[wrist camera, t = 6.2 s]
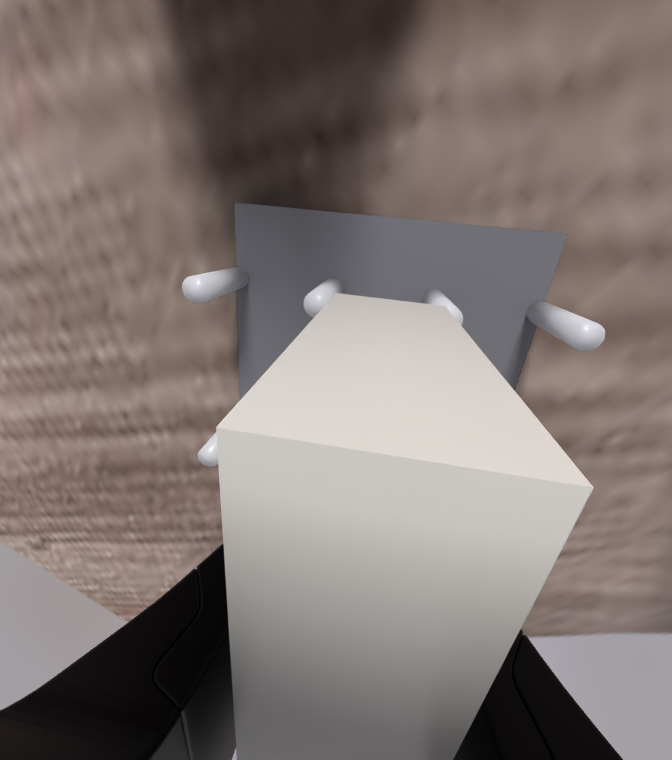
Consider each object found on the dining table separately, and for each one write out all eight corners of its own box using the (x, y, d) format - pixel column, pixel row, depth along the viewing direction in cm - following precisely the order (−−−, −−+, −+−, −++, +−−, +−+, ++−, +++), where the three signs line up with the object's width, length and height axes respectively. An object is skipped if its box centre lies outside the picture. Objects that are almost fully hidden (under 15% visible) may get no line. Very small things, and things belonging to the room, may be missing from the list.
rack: (565, 235, 14) (649, 234, 10) (479, 489, 20) (507, 563, 16) (234, 203, 16) (173, 190, 11) (241, 450, 21) (202, 508, 17)
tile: (444, 306, 8) (594, 487, 2) (380, 594, 12) (374, 910, 6) (335, 293, 8) (215, 427, 2) (309, 580, 12) (244, 874, 6)
